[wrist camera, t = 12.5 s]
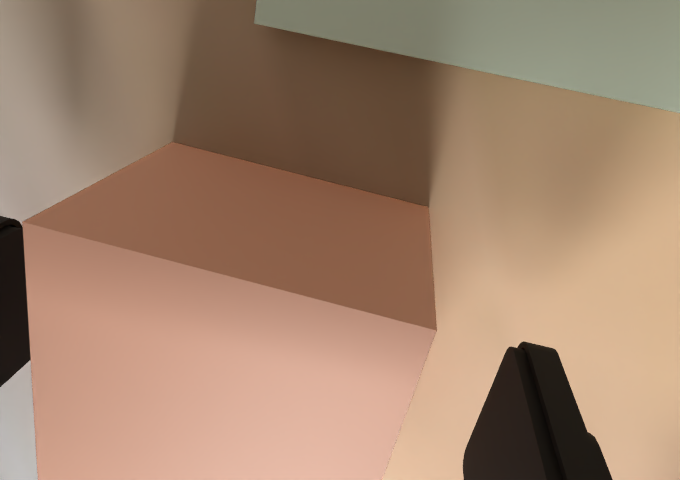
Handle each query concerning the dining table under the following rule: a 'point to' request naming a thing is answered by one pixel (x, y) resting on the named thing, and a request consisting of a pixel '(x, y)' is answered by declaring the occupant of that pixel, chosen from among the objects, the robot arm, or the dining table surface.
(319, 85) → the dining table surface
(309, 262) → the block
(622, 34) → the build tile
